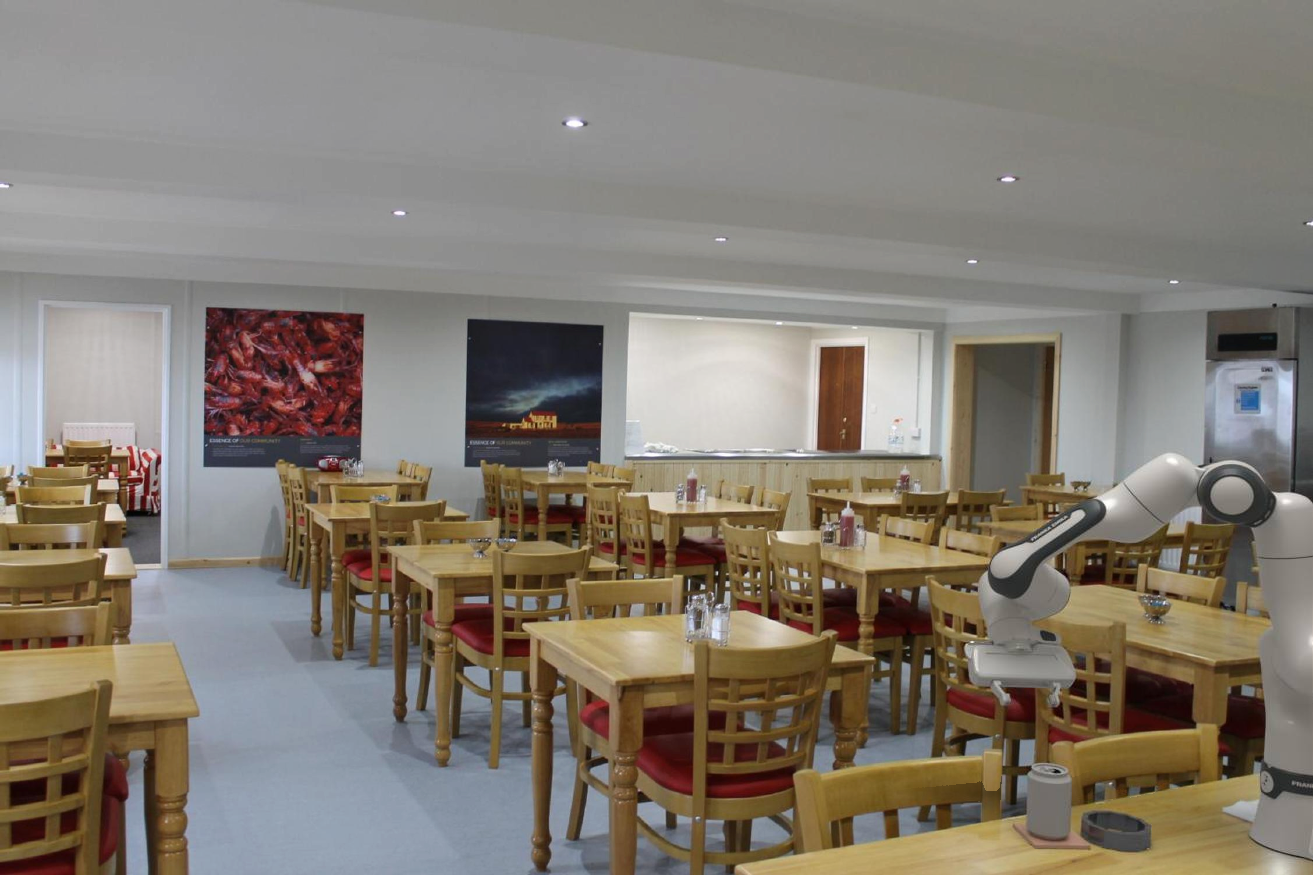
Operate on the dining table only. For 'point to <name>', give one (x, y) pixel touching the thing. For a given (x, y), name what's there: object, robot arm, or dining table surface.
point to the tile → (1068, 842)
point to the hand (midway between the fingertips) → (1030, 704)
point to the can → (1049, 801)
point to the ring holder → (1130, 840)
